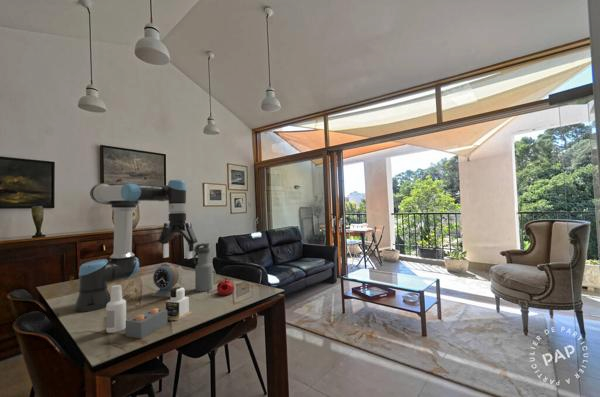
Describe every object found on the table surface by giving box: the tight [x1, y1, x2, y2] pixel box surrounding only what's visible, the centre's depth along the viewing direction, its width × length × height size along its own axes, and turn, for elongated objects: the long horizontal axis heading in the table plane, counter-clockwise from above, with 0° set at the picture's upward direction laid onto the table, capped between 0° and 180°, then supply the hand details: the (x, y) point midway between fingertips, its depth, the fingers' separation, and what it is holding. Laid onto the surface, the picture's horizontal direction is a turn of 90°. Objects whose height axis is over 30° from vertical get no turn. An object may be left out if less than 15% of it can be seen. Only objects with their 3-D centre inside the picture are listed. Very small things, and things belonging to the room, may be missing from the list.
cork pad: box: [167, 311, 192, 322], centre depth 122 cm, size 9×9×1 cm
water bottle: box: [193, 242, 213, 292], centre depth 162 cm, size 10×10×28 cm
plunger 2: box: [149, 307, 159, 314], centre depth 112 cm, size 3×3×6 cm
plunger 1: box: [135, 314, 144, 321], centre depth 105 cm, size 3×3×6 cm
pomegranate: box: [216, 277, 235, 296], centre depth 153 cm, size 10×10×9 cm
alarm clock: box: [151, 262, 180, 298], centre depth 155 cm, size 14×10×18 cm
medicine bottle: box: [165, 286, 190, 318], centre depth 123 cm, size 7×7×12 cm
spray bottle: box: [105, 284, 127, 334], centre depth 110 cm, size 7×7×18 cm
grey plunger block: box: [125, 307, 168, 339], centre depth 109 cm, size 8×13×6 cm, turn 163°
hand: (177, 258), depth 123 cm, fingers open, 13 cm apart
